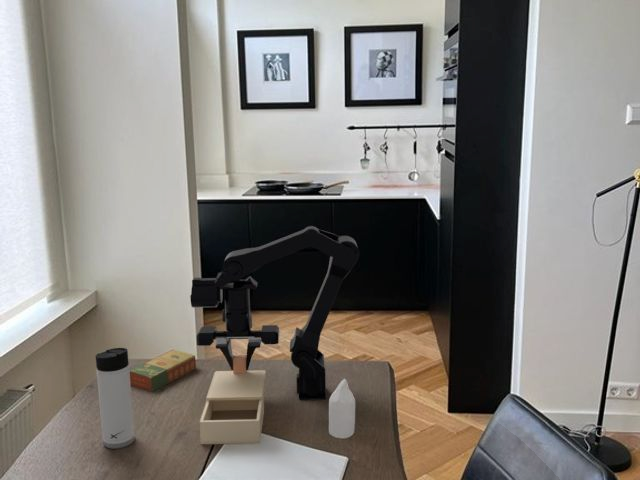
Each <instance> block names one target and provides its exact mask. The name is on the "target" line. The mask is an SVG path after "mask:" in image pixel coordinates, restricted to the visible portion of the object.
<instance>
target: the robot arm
mask: <svg viewBox="0 0 640 480" xmlns="http://www.w3.org/2000/svg"><path fill="white" fill-rule="evenodd" d="M310 247H311V248H313V249H316V250H318V251H319V252H321V253H323V254H325V255H326V256H329V262H328V263H329V264H328V268H327V273H326V275H325V277H324V279H323V282H322V285H321V287H320V290H319V291H318V294H317V297H316V299H315V301H314V303H313V306H312V309H311V310H310V313H309V316H308V319H307V321H306V323H305V325H303V327H302V328H299V327H298V326H297V327H295V330H294V335H293V337H292V338H291V340H289V352H290V360H291V362H292V364H293V366H295V367H296V368H298V372H297V374H296V377H295V378H296V379H295V380H296V394H297V395H298V400H302V401H303V400H304V401H305V400H307V401H308V400H326V399H327V387H326V383H327V381H326V380H327V379H326V377H327V376H326V371H327V370H326V365H325V354H324V353H322V352H321V350H319V346H320V345H319V344H320V338H321V333H322V331H323V328H324V326H325V324H326V321H327V319H328V316H329V314H330V312H331V310H332V307H333V305H334V302H335V300H336V298H337V295H338V292H339V290H340V289H341V286H342V283H343V281H344V279H345V278H346V277H347V276H348V275H349V273H350V272H351V271H352V269H353V268H354V267H355V265H356V263H357V262H358V260H359V257H360V250H359V247H358V245H357V242H356V240H355V239H354V238H353V237H351V236H349V235H337V234H335V233H332V232H329V231H327V230H322V229H319V228H317V227H316V226H313V225H309V226H307V227H305V228H304V229H301V230H299V231H296V232H294V233H291V234H289V235H287V236H284V237H281V238H279V239H276V240H273V241H270V242H269V243H266V244H263V245H260V246H257V247H249V248H243V249H238V250H233V251H231V252H229V253H228V254H227V255H226V257H225V259H224V261H223V262H222V265H221V271H220V272H218V273H217V275H216V277H207V278H206V277H204V278H203V277H193V278H192V280H191V283H192V284H191V294H190V296H189V298H190V305H191V308H195V309H196V308H217V307H218V306H219V303H221V304H222V302H223V298H224V308H223V309H222V316H221V317H222V318H221V320H222V322H223V323H225V330H218V328H217V326H216V325H215V326H201V327H200V328H199V330H198V332H197V334H196V345H197V346H199V347H203V346H205V347H206V346H207V347H208V346H212V344H213V343H214V342H215V349H217V350H220V352H221V353H222V355H223V356H224V358H225V360H226V361H227V364H228V365H229V367H230V371H233V349H232V340H248V342H247V345H246V348H247V349H246V370H247V371H249V367H250V363H251V360H252V357H253V354H254V353H255V351H256V349H260V347H261V345H262V343H263V344H264V345H278V344H279V341H280V327H279V326H278V325H277V324H275V325H274V324H273V325H272V324H271V325H270V324H269V325H267V324H266V325H262V327H261V329H260V330H259V329H258V330H255V329H254V330H252V327H253V317H252V312H251V302H250V301H251V300H250V289H251V290H255V289H257V287H258V282H257V281H256V280H255V279H254V278H252V277H253V276H251V274H252V273H254V272H255V271H257V270H258V269H260V268H261V267H262V266H264V265H267V264H268V263H269V264H270V263H271V262H274V261H277V260H280V259H281V258H284V257H287V256H290V255H292V254H294V253H297V252H299V251H302V250H304V249H308V248H310ZM249 275H250V276H249ZM247 276H248V277H247ZM246 277H247V278H246ZM244 278H246V279H244ZM223 290H224V291H223ZM223 292H224V294H223ZM223 295H224V297H223Z"/></svg>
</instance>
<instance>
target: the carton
mask: <svg viewBox="0 0 640 480" xmlns="http://www.w3.org/2000/svg"><path fill="white" fill-rule="evenodd" d="M196 362H197V360H196V354H195V355H194V354H193V353H187V352H185V351H180V350H176V349H171V350H169V351H167V352H165V353H162V354H160V355H158V356H156V357H155V358H153V359H150V360H148V361H146V362H143V363H142V364H139V365H138V366H135V367H133V368H131V369H129V371H130V384H131V387H135V388H137V389H142V390H145V391H148V392H154V391H156V390H157V389H159V388H162V387H163V386H165V385H167V384H168V383H171V382H173V381H175V380H177V379H179V378H181V377H183V376H184V375H186V374H188V373H191V372H192V371H194V370H196V369H197V363H196Z"/></svg>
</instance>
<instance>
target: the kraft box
mask: <svg viewBox="0 0 640 480" xmlns="http://www.w3.org/2000/svg"><path fill="white" fill-rule="evenodd" d="M264 393H265V392H264V389H263V396H262V399H255V400H208V401H205V405H204V408H203V410H202V413H201V416H200V419H199V435H200V445H205V446H206V445H233V444H234V445H236V444H237V445H240V444H241V445H242V444H243V445H244V444H260V443H261V438H262V431H263V424H264V423H263V422H264V415H265V396H264V395H265V394H264Z"/></svg>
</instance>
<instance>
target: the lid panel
mask: <svg viewBox="0 0 640 480" xmlns="http://www.w3.org/2000/svg"><path fill="white" fill-rule="evenodd" d="M246 356H247V354H246V355H245V354H244V355H242V354H241V355H236V354H235V355H233V370H219V371H218V370H216V371H214V373H213V377H212V379H211V382H210V385H209V389H208V391H207V395H206V399H205V400H206V401H208V400H255V399H262V396H263V390H264V388H265V383H266V381H265V380H266V375H267V371H266V370H265V369H264V370H259V369H258V370H254V369H253V370H246ZM206 401H205V402H206Z"/></svg>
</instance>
